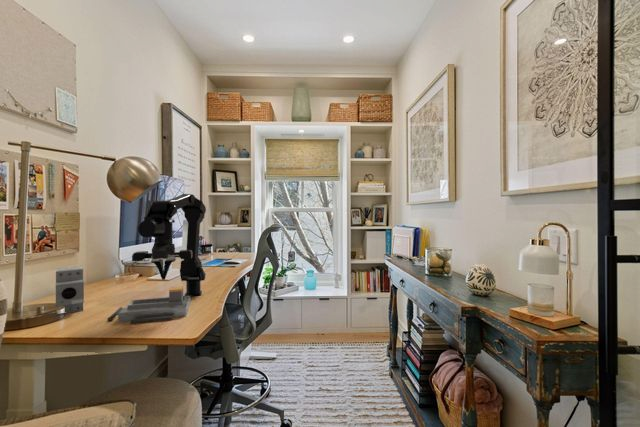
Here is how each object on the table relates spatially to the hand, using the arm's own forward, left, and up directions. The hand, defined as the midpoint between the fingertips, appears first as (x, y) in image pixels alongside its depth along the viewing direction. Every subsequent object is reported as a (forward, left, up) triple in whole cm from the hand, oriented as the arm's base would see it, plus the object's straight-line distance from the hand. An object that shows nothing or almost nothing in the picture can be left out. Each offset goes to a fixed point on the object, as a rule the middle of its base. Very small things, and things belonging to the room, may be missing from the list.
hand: (163, 279), depth 111 cm
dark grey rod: (0, -15, -11) cm, 19 cm away
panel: (0, -2, -11) cm, 12 cm away
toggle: (0, +4, -8) cm, 9 cm away
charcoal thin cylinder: (+10, -2, -11) cm, 15 cm away
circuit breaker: (-10, -32, -12) cm, 35 cm away
